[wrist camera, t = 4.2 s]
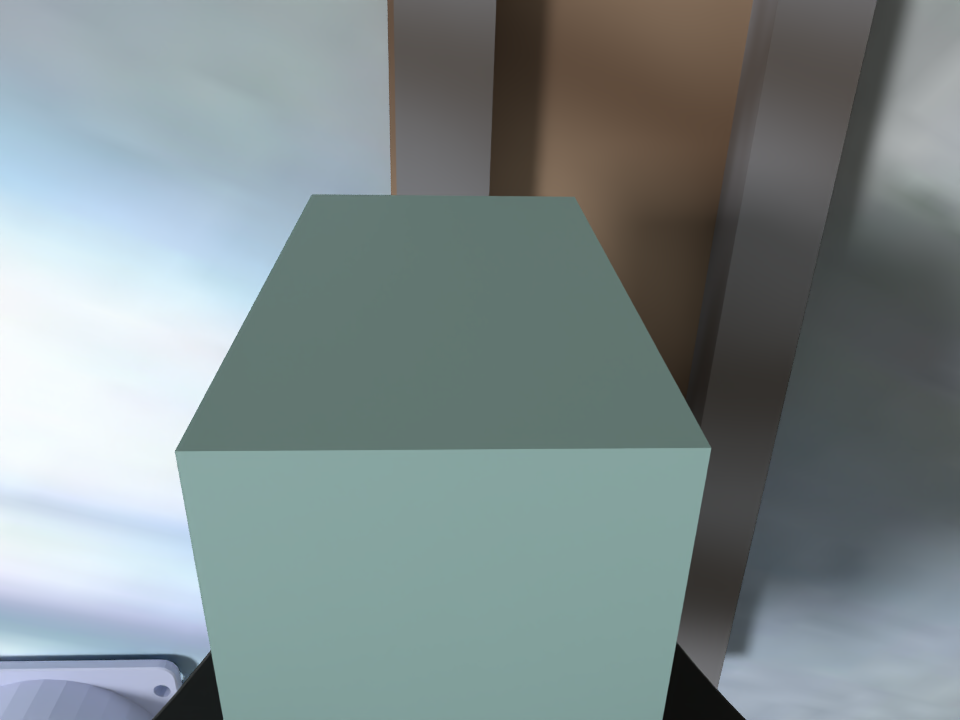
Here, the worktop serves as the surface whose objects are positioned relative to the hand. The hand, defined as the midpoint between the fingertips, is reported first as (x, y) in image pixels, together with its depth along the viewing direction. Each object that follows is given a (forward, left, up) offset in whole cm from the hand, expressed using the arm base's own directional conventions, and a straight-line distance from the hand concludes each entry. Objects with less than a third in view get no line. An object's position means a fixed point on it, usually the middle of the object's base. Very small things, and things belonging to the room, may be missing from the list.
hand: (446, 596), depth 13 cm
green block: (0, 0, -2) cm, 2 cm away
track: (-1, -4, -9) cm, 10 cm away
